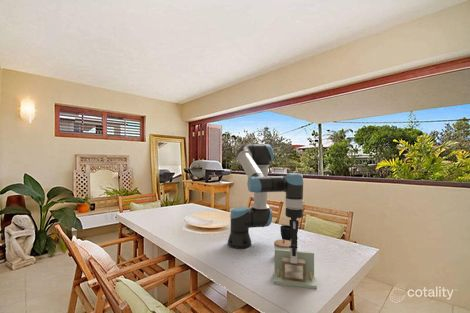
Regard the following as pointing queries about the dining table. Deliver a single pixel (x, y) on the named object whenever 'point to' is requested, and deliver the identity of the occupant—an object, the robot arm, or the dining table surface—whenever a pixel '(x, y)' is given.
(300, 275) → the brown tapered block
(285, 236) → the mug
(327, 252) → the dining table surface
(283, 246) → the lidded jar
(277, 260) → the ledge
